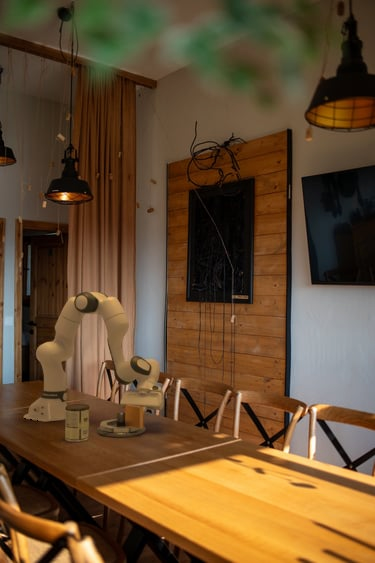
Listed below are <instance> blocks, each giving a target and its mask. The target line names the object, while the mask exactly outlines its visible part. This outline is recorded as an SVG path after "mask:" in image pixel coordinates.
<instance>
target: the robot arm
mask: <svg viewBox="0 0 375 563" xmlns="http://www.w3.org/2000/svg"><path fill="white" fill-rule="evenodd" d="M86 314H87V315H88V314H89V315H100V316H101V318H102V320H103V322H104V326H105V329H106V333H107V334H106V335H107V338H106V339H107V347H108V349H109V355H110V357H111V361H112V365H113V373H114V374H113V375H114V378H115V380H116V381H117V382H118V383H119V384H120V385H123V386H127V385H128V386H129V385H130V384H131V383H132V382H134V381H135V380H137V385H136V389H127V390H124V391H123V395H122V397H121V399H120V401H119V402H120V403H119V404H120V406H121V408H122V409H126V405H128V404H129V405H135V406H140V407H143V415H144V414H146V412H147V410H152V411H161V410H162V409H163V408H164V403H165V400H164V397H165V396H164V395H165V394H164V391H163V389H162V387H161V386H159V385H157V383H158V381H159V378H160V377H159V376H160V373H161V367H160V366H161V365H160V363H159V362H158V361H157V360H156V359H153V358H149V359H148V358H147V359H146V358H143V357H142V356H140V355H133V356H132V357H131V358H129V359H127V360H126V359H125V356H124V351H123V348H122V347H123V346H122V344H123V341H124V340H123V339H124V338H125V337H126V334H127V333H128V331H129V326H130V324H129V318H128V316H127V314H126V312H125V310H124V308H123V306H122V304H121V302H120V301H119V299H118V298H117V297H115V296H108V295H107V294H105V293H102V292H97V291H82V292H80V293H78V294H77V295H76V296H71V297H70V298H69V299H68V300H67V301H66V303H65V304H64V306H63V308H62V309H61V312H60V314H59V315H58V319H57V320H56V323H55V325H54V330H55V336H54V339H53V340H52V341H46V342H44V343H42V344H40V345H39V346H38V347H37V349H36V352H35V356H36V359H37V360H38V361H39V363H40V365H41V367H42V372H43V390H41V391H39V393H38V395H40V397H38V399H36V400H35V401H34V402H32V403H31V405H30V406H29V408H28V413H26V414H24V415H23V419H24V418H26V420H30V419H32V421H37V420H38V421H39V422H45V423H46V422H53V421H65V417H66V409H65V407H66V406H67V405H68V404H67V401H68V390H67V373H66V372H65V371H64V368H63V362H66V361H67V360H69V359H71V358H72V357H73V356H74V354H75V345H74V343H75V337H76V335H77V332H78V329H79V328H80V325H81V323H82V320H83V318H84V317H85V315H86Z"/></svg>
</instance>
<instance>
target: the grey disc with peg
mask: <svg viewBox="0 0 375 563" xmlns="http://www.w3.org/2000/svg"><path fill="white" fill-rule="evenodd" d="M116 419H117V424H114V425H110V426H114V427H128V425H125V411H118V412H116ZM96 433H97V435H99V436H102V437H107V438H114V439H117V438H119V439H122V438H124V439H125V438H134V437H137V436H138V437H139V436H141V435H144V434H145V433H146V427H145V426H144V425H143V427H142V429H141V430H137V431H133V432H122V433H114V432H107V431H103V430H101V429H100V425H99V426H98V427H97V429H96Z"/></svg>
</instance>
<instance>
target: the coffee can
mask: <svg viewBox="0 0 375 563" xmlns="http://www.w3.org/2000/svg"><path fill="white" fill-rule="evenodd" d="M65 409H66V417H65V419H64V421H65V425H64V427H65V429H64V430H65V434H64V435H65V436H64V437H65V438H64V440H65V441H67V442H71V443H72V442H74V443H75V442H76V443H78V442H85V441H87V440H90V437H89V436H90V434H89V433H90V432H89V431H90V429H89V428H90V405H89V404H86V403H85V404H84V403H74V404H69V405H68V404H67V406H66V407H65Z"/></svg>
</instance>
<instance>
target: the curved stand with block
mask: <svg viewBox="0 0 375 563" xmlns="http://www.w3.org/2000/svg"><path fill="white" fill-rule="evenodd" d="M124 412H125V425H128V427H114V426H110V425H114V424H117V418H114V419H113V418H112V419H107V420H102V421H100V424H99V426H100V429H101V430H103V431H107V432H114V433H122V432H133V431H137V430H141V429H142V427H143V426H144V414H143V407H140V406H135V405H129V404H128V405H126V408H125V411H124Z"/></svg>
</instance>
